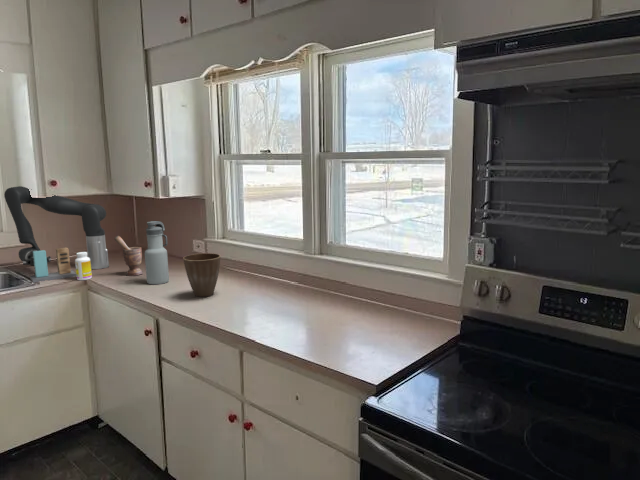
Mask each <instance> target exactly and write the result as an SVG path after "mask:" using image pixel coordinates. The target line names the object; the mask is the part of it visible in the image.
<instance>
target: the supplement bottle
mask: <svg viewBox="0 0 640 480" xmlns="http://www.w3.org/2000/svg"><path fill="white" fill-rule="evenodd" d="M74 264H75V272H76V280H78V281H88V280H90V279H92V278H93V273H92V269H91V263H90V258H89V257H88V253H87V251H79V252H76V258H75V259H74Z"/></svg>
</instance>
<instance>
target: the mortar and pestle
mask: <svg viewBox="0 0 640 480" xmlns="http://www.w3.org/2000/svg"><path fill="white" fill-rule="evenodd" d="M114 241H115V242H116V243H117V244H118V245H119V246H120V247H121V248H122V253H123V261H124V262H125V266H127V267H128V271H127V272H126V276H129V277H132V276H140V275H143V274H144V273H143V269H141V268H140V265H141V264H142V260H143V259H142V258H143V252H142V249H143V248H142V247H140V246H132V247H129V246H128V245H127V244H126V242H125V241H124V239H123V238H122V237H121V236H120V235H117V236H115V237H114Z"/></svg>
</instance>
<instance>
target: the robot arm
mask: <svg viewBox="0 0 640 480" xmlns="http://www.w3.org/2000/svg"><path fill="white" fill-rule="evenodd" d="M29 189H30V188H29ZM29 189H28V187H25V186H21V185H17V186H13V187H9V188H6V189H5V191H4V196H3V198H4V199H5V200H4V201H5V202H6V204H7V207H8V210H9V212H10V214H11V215H10V216H12V220H13V222H14V226H15V227H16V233H17V236H18V241H19V244H22V245H26V244H28V245H31V246H28V247H24V248H21V249H20V250H19V251H18V258H19V259H20V261H21V262H22V265H24V266H31V267H34V258H33V251H41V249H40V247H39V245H38V243H37V242H36V239H35V236H34V232H33V227H32V225H31V223H30V222H29V220H28V219H27V217H26V215H25V214H24V212H23V209H22V204H27V205H28V204H29V205H34V206H35V205H36V206H38V207H40V208H41V209H43V210H45V211H46V212H48V213H49V212H50V213H54V214H57V215H62V216H63V215H64V216H65V215H66V216H67V215H68V216H80V217H81V221H82V228H83V231H84V233H85V240H86V250H87V251H86V252H87V257H89V258H90V263H91V270H101V269H105V268H110V263H109V253H108V249H107V244H106V232H105V229H104V228H102V226H101V221H103V220H104V219H105V218H106V216H107V210H106V209H105V207H104V206H102V205H100V204H96V203H89V202H82V201H78V200H76V199H72V198H68V197H64V196H60V195H57V196H56V194H53V195H54V196H52V197H46V198H32V197H31V195H30V191H29ZM46 258H47V264H48V263H50V262H52V256H50V255H49V256H46Z"/></svg>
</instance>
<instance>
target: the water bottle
mask: <svg viewBox="0 0 640 480" xmlns="http://www.w3.org/2000/svg"><path fill="white" fill-rule="evenodd" d="M146 225H147V227H146V229H145V231H146V235H145V236H146V240H147V248H146V249H145V250H144V264H145V274H146V275H145V277H146V283H147V284H148V285H153V286H154V285H163V284H167V283H168V282H169V281H170V275H169V260H168V259H169V258H168V250H167V249H166V248H165V247H167V246H168V236H167V235H166V234H164V232H165V225H164V223H163V222H162V221H155V220H151V221H147V222H146ZM163 237H164V239H165V243H164V242H163Z"/></svg>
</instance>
